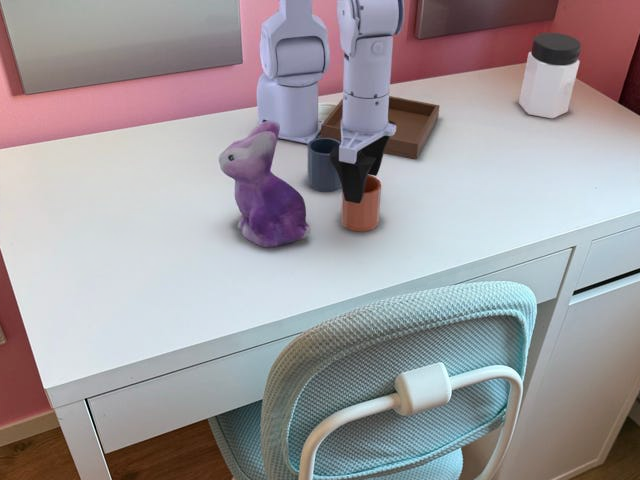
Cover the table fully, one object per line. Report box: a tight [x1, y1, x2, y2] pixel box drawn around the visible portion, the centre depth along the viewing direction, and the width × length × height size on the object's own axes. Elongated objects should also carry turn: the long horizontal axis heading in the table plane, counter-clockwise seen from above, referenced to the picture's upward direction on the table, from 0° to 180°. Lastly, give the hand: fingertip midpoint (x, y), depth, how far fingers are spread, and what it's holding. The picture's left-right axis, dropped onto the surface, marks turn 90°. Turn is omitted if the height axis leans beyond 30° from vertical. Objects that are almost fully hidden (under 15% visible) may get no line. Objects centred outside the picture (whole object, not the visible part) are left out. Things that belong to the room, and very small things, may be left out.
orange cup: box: [340, 175, 382, 233], centre depth 100 cm, size 5×5×6 cm
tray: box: [320, 95, 440, 160], centre depth 122 cm, size 16×15×3 cm
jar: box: [518, 32, 582, 120], centre depth 129 cm, size 9×8×12 cm
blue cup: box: [306, 137, 342, 193], centre depth 107 cm, size 5×5×6 cm
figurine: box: [218, 121, 311, 248], centre depth 94 cm, size 9×10×15 cm
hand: (361, 186), depth 98 cm, fingers open, 7 cm apart
